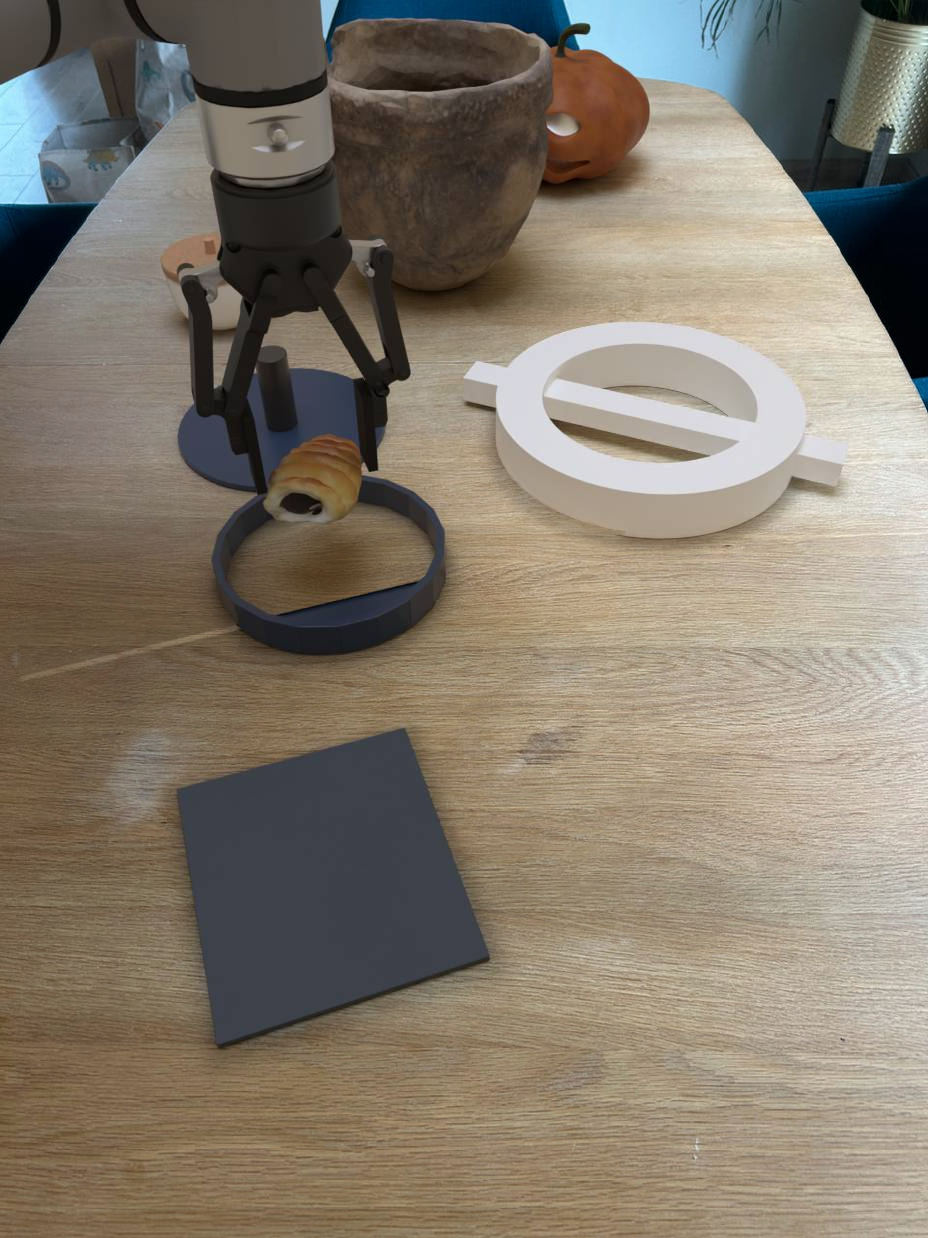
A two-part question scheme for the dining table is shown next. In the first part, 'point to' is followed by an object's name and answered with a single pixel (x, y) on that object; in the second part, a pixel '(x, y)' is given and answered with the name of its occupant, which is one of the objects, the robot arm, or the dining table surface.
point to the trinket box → (197, 254)
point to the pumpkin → (591, 112)
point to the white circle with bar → (652, 428)
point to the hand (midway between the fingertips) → (314, 471)
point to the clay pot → (438, 140)
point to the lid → (273, 420)
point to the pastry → (316, 482)
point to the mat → (322, 885)
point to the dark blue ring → (343, 619)
